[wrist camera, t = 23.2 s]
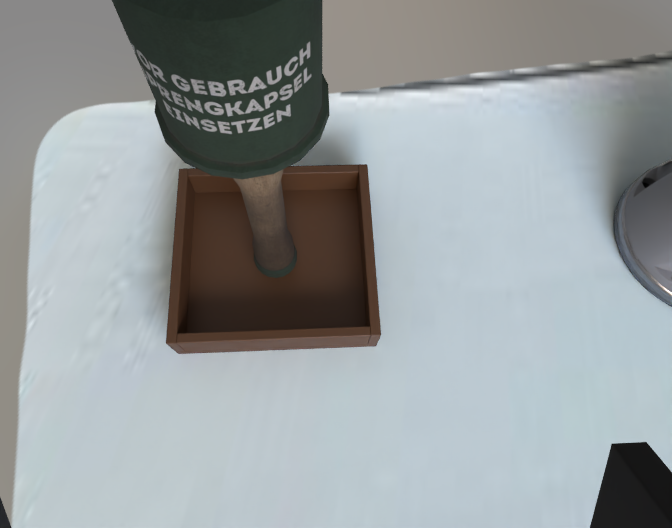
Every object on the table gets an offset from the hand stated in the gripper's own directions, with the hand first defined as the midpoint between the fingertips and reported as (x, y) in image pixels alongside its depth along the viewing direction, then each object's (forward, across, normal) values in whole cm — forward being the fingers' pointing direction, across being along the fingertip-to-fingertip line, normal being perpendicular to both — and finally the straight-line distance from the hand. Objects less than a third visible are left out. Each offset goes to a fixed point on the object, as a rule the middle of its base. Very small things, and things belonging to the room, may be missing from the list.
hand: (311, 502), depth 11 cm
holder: (+34, -3, -9) cm, 36 cm away
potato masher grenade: (+34, -3, -9) cm, 35 cm away
